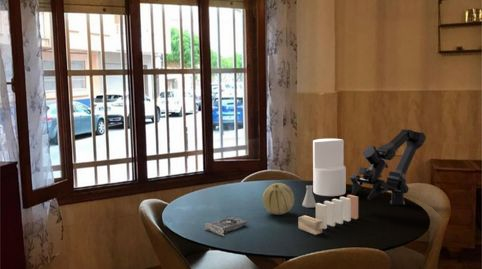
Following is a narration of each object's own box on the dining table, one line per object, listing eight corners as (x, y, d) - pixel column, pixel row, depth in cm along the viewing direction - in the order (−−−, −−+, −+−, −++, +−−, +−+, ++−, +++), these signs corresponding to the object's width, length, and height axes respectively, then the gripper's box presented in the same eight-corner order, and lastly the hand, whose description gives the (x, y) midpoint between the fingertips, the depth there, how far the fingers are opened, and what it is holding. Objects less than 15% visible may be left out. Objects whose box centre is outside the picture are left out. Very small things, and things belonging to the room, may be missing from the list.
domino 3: (334, 220, 213) (334, 198, 212) (343, 223, 209) (343, 201, 208) (331, 221, 212) (331, 199, 211) (340, 224, 208) (340, 201, 207)
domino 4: (342, 218, 216) (342, 196, 215) (350, 220, 212) (350, 198, 211) (339, 218, 215) (339, 197, 214) (348, 221, 211) (348, 199, 210)
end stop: (305, 226, 206) (305, 215, 206) (322, 232, 198) (322, 220, 198) (298, 228, 204) (298, 217, 203) (315, 234, 196) (315, 222, 195)
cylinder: (308, 189, 267) (307, 139, 263) (335, 186, 272) (335, 137, 268) (322, 197, 251) (322, 144, 247) (351, 194, 256) (351, 142, 252)
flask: (305, 208, 232) (305, 188, 231) (299, 204, 239) (299, 185, 238) (319, 207, 234) (319, 187, 232) (313, 203, 241) (313, 183, 239)
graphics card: (221, 230, 196) (204, 222, 205) (221, 238, 197) (204, 231, 206) (252, 221, 207) (234, 214, 216) (252, 229, 208) (234, 222, 217)
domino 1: (318, 225, 208) (318, 202, 206) (326, 228, 204) (326, 205, 202) (315, 226, 207) (315, 203, 205) (324, 229, 203) (324, 206, 201)
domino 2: (326, 222, 210) (326, 200, 209) (335, 225, 206) (335, 203, 205) (324, 223, 210) (323, 201, 208) (332, 226, 206) (332, 203, 204)
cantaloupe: (292, 208, 233) (291, 178, 230) (296, 218, 218) (296, 186, 216) (261, 209, 232) (260, 179, 230) (264, 219, 218) (263, 187, 215)
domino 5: (349, 215, 219) (349, 194, 218) (358, 218, 215) (358, 196, 214) (347, 216, 218) (347, 195, 217) (355, 219, 214) (355, 197, 213)
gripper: (351, 157, 227) (335, 184, 222) (384, 162, 212) (368, 191, 207) (362, 170, 232) (347, 197, 228) (395, 177, 217) (380, 205, 213)
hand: (360, 197), depth 219 cm, fingers open, 9 cm apart
